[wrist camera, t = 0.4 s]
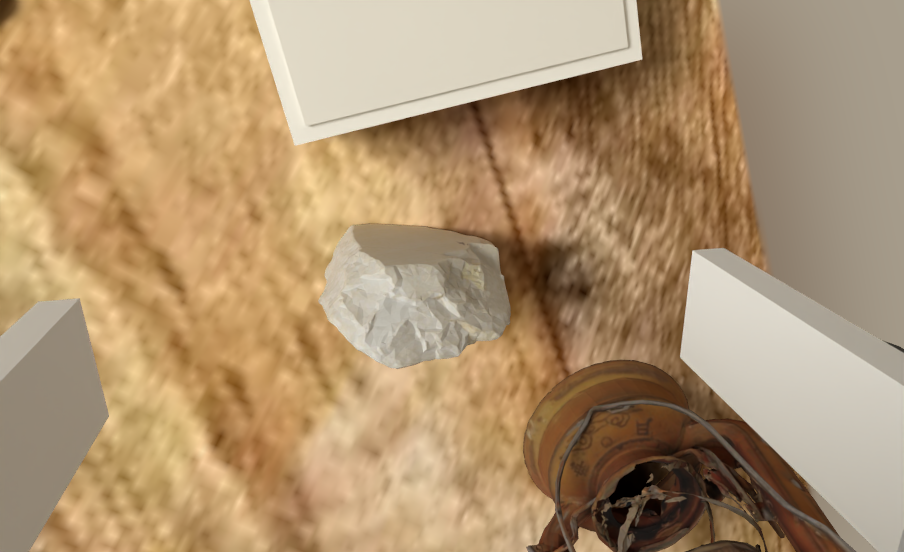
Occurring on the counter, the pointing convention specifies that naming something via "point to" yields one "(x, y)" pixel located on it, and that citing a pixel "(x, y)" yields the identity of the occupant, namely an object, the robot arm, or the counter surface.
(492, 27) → the plinth
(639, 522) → the lantern
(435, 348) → the stone
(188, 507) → the counter surface
